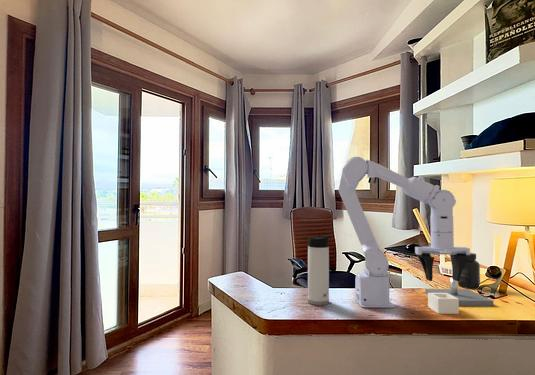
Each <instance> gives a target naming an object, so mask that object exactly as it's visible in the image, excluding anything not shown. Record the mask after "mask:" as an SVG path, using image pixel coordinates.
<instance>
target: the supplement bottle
mask: <svg viewBox="0 0 535 375" xmlns="http://www.w3.org/2000/svg"><path fill="white" fill-rule="evenodd" d="M466 256H468V257H469V260H468V261H467V263H466V264H465V266H464V268H463V271H462V273H461V277H460V281H458V287H461V288H463V289H468V290H470V289H471V290H477V288H478V287H479V285H480V286H481V269H480V268H481V264H480V262H478V261H477V253H474V252H470V255H466ZM478 289H479V288H478Z"/></svg>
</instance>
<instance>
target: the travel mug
mask: <svg viewBox="0 0 535 375" xmlns="http://www.w3.org/2000/svg"><path fill="white" fill-rule="evenodd" d="M330 238H331V236H330V235H329V234H326V235H316V236H312V237H311V236H310V237H308V239H307V240H308V241H307V243H308V245H307V302H308V303H309V304H311V305H314V306H326V305H329V302H330V301H329V300H330V297H329V296H330V293H329V292H330V289H329V288H330V250H329V248H330V246H329V239H330Z"/></svg>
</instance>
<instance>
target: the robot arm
mask: <svg viewBox="0 0 535 375" xmlns="http://www.w3.org/2000/svg"><path fill="white" fill-rule="evenodd" d="M366 175H367V178H368V179H369V178H378V179H381V180H383V181H386V182H388V183H389V184H393V185H395V186H397V187H399V188H401V189H402V190H403V193H404V194H405V195H406V196H408V197H410V198H413V199H415V200H417V201H419V202H422V203H424V204H428V205H429V207H430V246H429V245H428V246H415V247H414V255H415V254H416V256H417V259H418V260H419V261H420V264H421V266H422V269H423V272H424V275H425V279H426V281H429V282H433V278H434V277H433V274H434V273H433V268H434V267H433V266H434V261H435V257H433V256H432V255H449V256H450V261H451V268H452V270H451V272H452V278H453V280H456V281H460V277H461V273H462V271H463V268H464V266H465V264H466V263H467V261H468V260H469V257H468V256H466V255H470V253H471V249H470V247H467V246H466V247H465V246H454V245H455V244H454V236H455V235H454V234H455V233H454V231H455V230H454V214H453V212H454V211H453V210H454V207H455V205H456V204H457V203H456V202H457V199H456V197H455V195H453V192H451V191H449V190H447V189H440V185H438V184H436V185H434V184H432V183H430V182H427V181H426V180H424V177H421V176H418V177H417V176H412V177H410V178H409V177H405V176H404V175H402V174H399V173H398V172H396V171H393V170H392V169H389V168H387V167H385V166H383V165H382V164H380V163H377V162H374V161H372V160H369V159H364V158H363V157H361V156H353V157H350V158H349V159H348V160H347V161H346V163H345V164H344V165H343V167H342V171H341V175H340V176H341V177H340V179H339V180H340V182H339V187H338V193H339V195H340V197H341V198H340V199H341V200H342V203H343V205H344V208H345V210H346V212H347V215H348V218H349V219H350V221H351V224H352V226H353V229H354V231H355V234H356V236H357V238H358V241H359V243H360V245H361V249H362V252H363V254H364V260H365V263H364V264H365V268H364V269H363V272H361V273H360V272H359V273H358V272H357V273H356V274H355V279H354V280H355V281H354V282H355V284H354V285H355V286H354V287H355V288H354V289H355V290H354V292H355V294H354V295H355V297H354V300H355V301H356V302H357V303H358V304H359V305H360V307H362V308H381V309H383V308H384V309H385V308H387V309H389V308H391V309H392V308H396V306H395V305H394V304H393V303H392V302H391V301H390V271H388V269H389V266H390V264H389V260H388V259H387V255H386V254H385V252H384V251H382V250H381V249H380V247H379V245H378V242H377V240H376V238H375V236H374V234H373V231H372V229H371V227H370V224H369V222H368V219H367V216H366V215H365V212H364V210H363V207H362V205H361V203H360V200H359V198H358V196H357V193H356V190H357V188H358V186H359V183H360V182H361V181H362V180H363V178H365V176H366Z"/></svg>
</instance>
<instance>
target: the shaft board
mask: <svg viewBox="0 0 535 375" xmlns="http://www.w3.org/2000/svg"><path fill="white" fill-rule="evenodd" d="M449 278H450V279H449V280H450V281H449V282H450V284H449V288H425V292H424V293H425V294H426V295H427V296H428V293H448V294H450V295H452V296H454V297H456V298H458V299H459V307H461V306H464V307H468V306H470V307H471V306H472V307H474V306H475V307H479V306H480V307H485V306H486V307H494V300H492V299H490V298H488V297H487V296H484V295H482V294H479V293H476V292H475V291H472V290H470V289H469V288H462V289H461V288H460V289H459V285H458V281H456V280H453V277H449Z"/></svg>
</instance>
